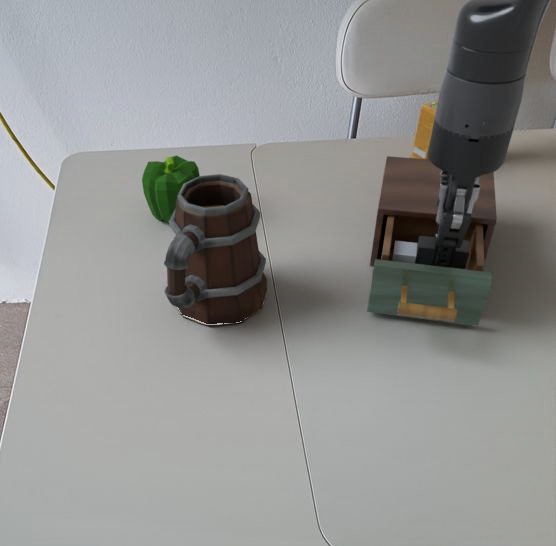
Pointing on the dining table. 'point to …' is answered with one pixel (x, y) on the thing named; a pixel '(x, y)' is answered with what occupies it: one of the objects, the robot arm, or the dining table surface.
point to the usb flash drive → (427, 252)
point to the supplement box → (424, 131)
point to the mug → (215, 252)
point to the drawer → (429, 278)
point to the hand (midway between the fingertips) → (441, 258)
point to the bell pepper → (166, 184)
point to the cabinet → (425, 198)
